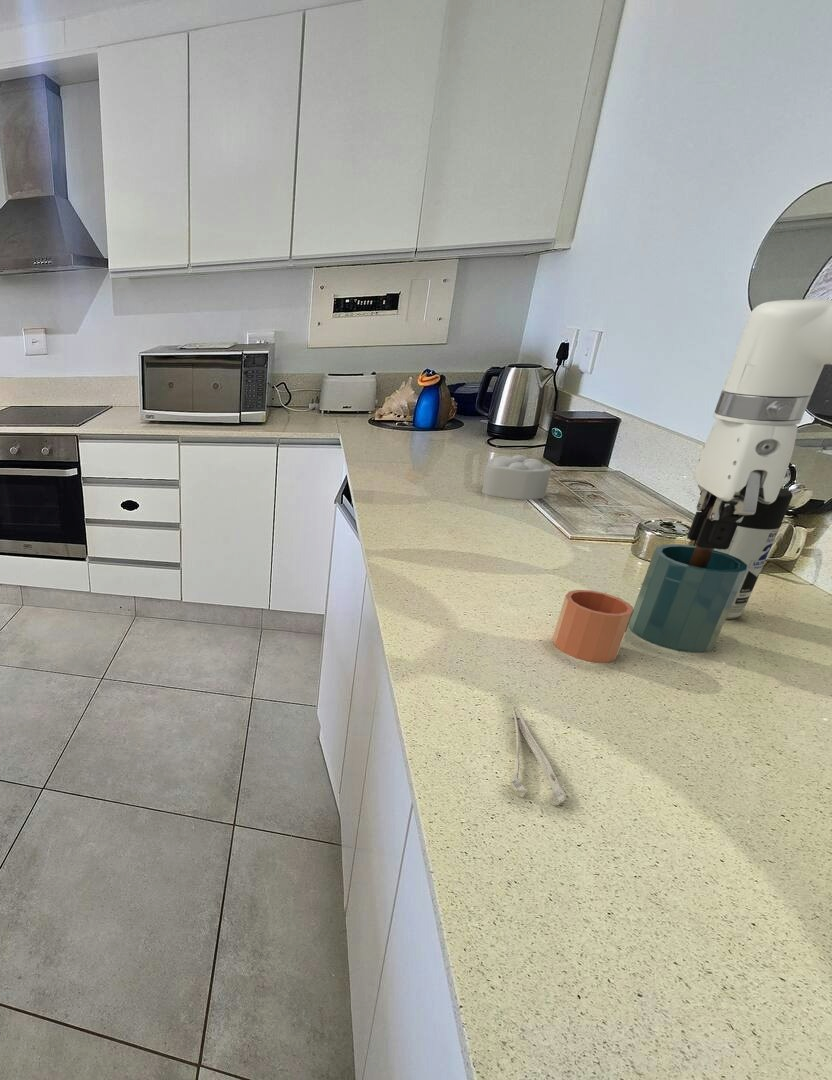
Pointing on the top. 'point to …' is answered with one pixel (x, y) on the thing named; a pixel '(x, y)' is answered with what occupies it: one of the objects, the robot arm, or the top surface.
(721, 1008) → the top surface
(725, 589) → the teal faceted cup
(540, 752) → the forked grey bone
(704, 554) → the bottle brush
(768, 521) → the spray can
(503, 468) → the lumpy-topped squat cylinder
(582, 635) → the brush holder
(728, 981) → the top surface
